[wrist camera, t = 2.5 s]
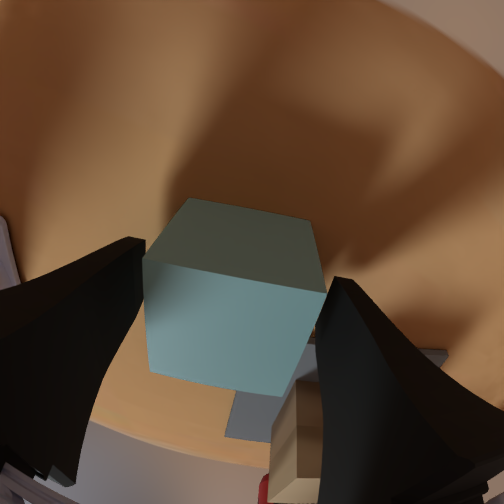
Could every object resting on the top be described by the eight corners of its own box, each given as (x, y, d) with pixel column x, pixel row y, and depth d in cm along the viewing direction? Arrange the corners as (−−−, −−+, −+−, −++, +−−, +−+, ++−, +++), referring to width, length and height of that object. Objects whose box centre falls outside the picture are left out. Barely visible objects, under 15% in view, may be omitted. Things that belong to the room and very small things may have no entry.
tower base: (271, 426, 15) (269, 463, 13) (295, 379, 13) (296, 425, 11) (349, 430, 16) (353, 464, 13) (387, 386, 13) (397, 426, 11)
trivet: (225, 431, 17) (224, 436, 17) (252, 328, 12) (251, 335, 12) (365, 441, 17) (366, 445, 17) (446, 350, 12) (448, 355, 12)
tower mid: (269, 463, 13) (267, 502, 11) (296, 425, 11) (296, 478, 9) (353, 464, 13) (356, 500, 11) (397, 426, 11) (407, 471, 9)
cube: (182, 293, 12) (150, 371, 8) (189, 196, 10) (142, 258, 6) (282, 312, 12) (282, 396, 8) (309, 219, 10) (327, 293, 6)
